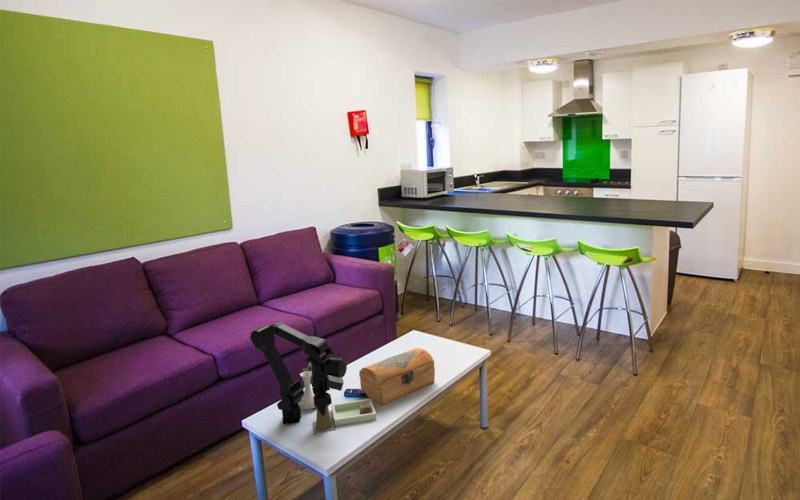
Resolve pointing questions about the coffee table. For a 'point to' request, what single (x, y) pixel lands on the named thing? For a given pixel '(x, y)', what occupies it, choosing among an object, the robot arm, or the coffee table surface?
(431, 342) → the coffee table surface
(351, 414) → the tray
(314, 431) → the pad
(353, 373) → the coffee table surface
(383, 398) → the wooden box
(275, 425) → the coffee table surface
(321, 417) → the cork
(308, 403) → the flower in vase
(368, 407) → the walnut block
